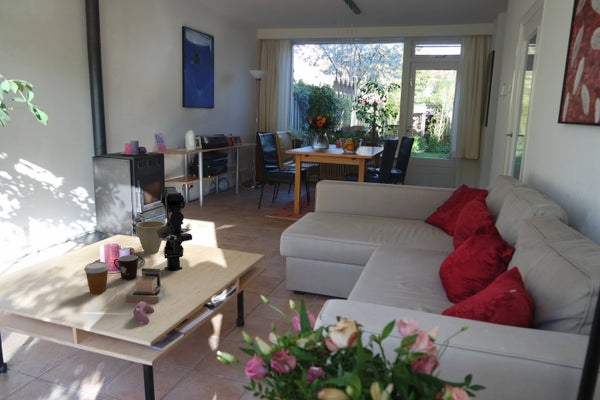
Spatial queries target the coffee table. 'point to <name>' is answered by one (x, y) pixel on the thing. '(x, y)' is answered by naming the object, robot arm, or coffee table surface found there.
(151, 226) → the plant pot
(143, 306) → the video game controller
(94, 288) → the disposable coffee cup
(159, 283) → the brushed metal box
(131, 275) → the coffee mug
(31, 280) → the coffee table surface
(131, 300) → the dock bay
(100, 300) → the coffee table surface
